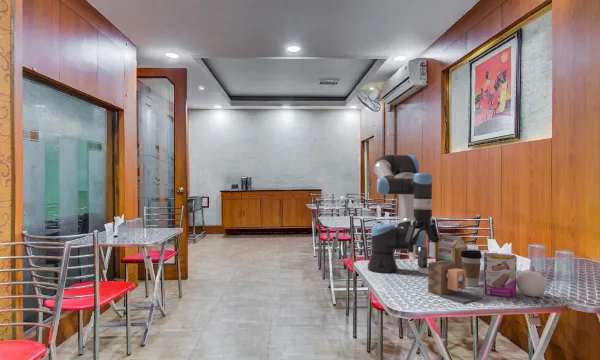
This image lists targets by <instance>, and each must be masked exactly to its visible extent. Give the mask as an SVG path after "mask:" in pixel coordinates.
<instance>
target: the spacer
mask: <svg viewBox="0 0 600 360" xmlns="http://www.w3.org/2000/svg"><path fill="white" fill-rule="evenodd" d="M458 275H464V277H465V280H464V282H463V283H461V282H458ZM448 289H451V290H454V291H459V289H461V290H466V270H463V269H459V268H454V269H448Z"/></svg>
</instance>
